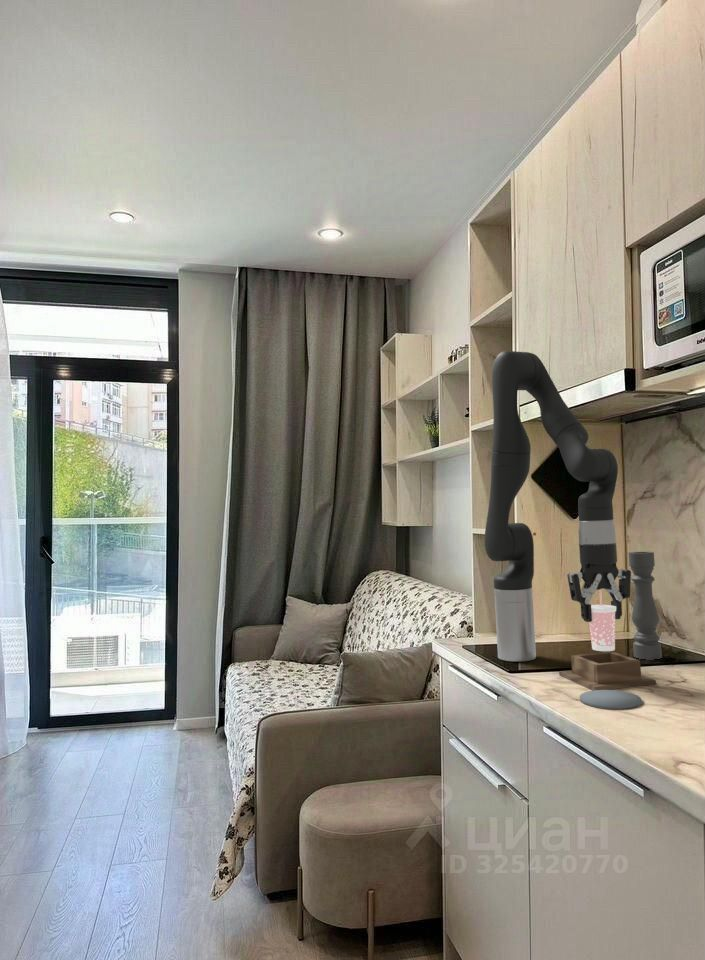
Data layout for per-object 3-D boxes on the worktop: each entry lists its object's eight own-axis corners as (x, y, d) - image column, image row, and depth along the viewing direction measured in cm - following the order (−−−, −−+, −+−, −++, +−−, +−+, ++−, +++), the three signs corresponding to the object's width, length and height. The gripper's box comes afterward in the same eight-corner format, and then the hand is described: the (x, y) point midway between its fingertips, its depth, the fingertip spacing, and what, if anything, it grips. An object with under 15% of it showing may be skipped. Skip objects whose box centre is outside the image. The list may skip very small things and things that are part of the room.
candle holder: (663, 655, 164) (656, 551, 165) (660, 661, 159) (653, 553, 160) (635, 653, 167) (629, 551, 168) (631, 659, 162) (625, 553, 163)
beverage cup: (607, 653, 141) (604, 585, 142) (582, 649, 146) (578, 583, 147) (624, 648, 145) (621, 582, 145) (599, 644, 150) (595, 580, 150)
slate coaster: (569, 696, 134) (568, 693, 134) (619, 690, 136) (618, 687, 136) (600, 712, 123) (600, 708, 123) (654, 705, 125) (654, 702, 125)
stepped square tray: (559, 675, 150) (558, 654, 150) (616, 669, 153) (614, 648, 153) (594, 691, 137) (593, 668, 137) (656, 684, 140) (654, 661, 140)
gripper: (617, 539, 151) (621, 615, 151) (557, 542, 148) (562, 620, 148) (637, 540, 144) (642, 620, 143) (576, 544, 141) (580, 625, 140)
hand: (601, 619), depth 146 cm, fingers closed on beverage cup, 6 cm apart
